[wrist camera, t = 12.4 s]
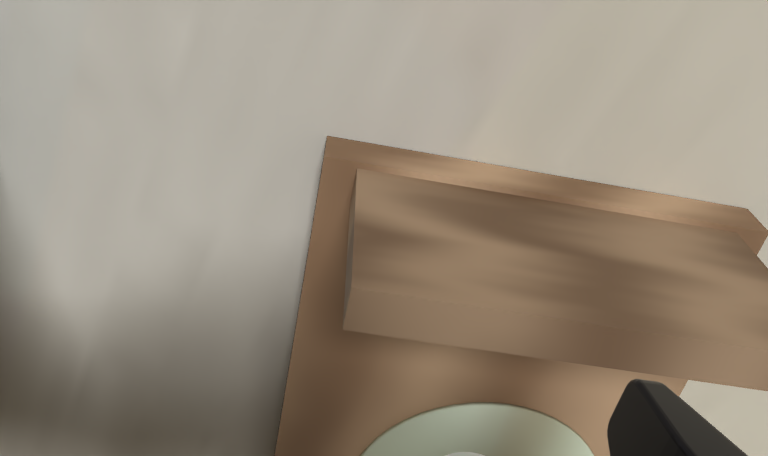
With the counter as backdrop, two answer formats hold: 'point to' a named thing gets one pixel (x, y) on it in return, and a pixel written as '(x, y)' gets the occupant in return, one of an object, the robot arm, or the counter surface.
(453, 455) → the white tall rounded piece
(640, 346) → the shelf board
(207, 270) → the counter surface
